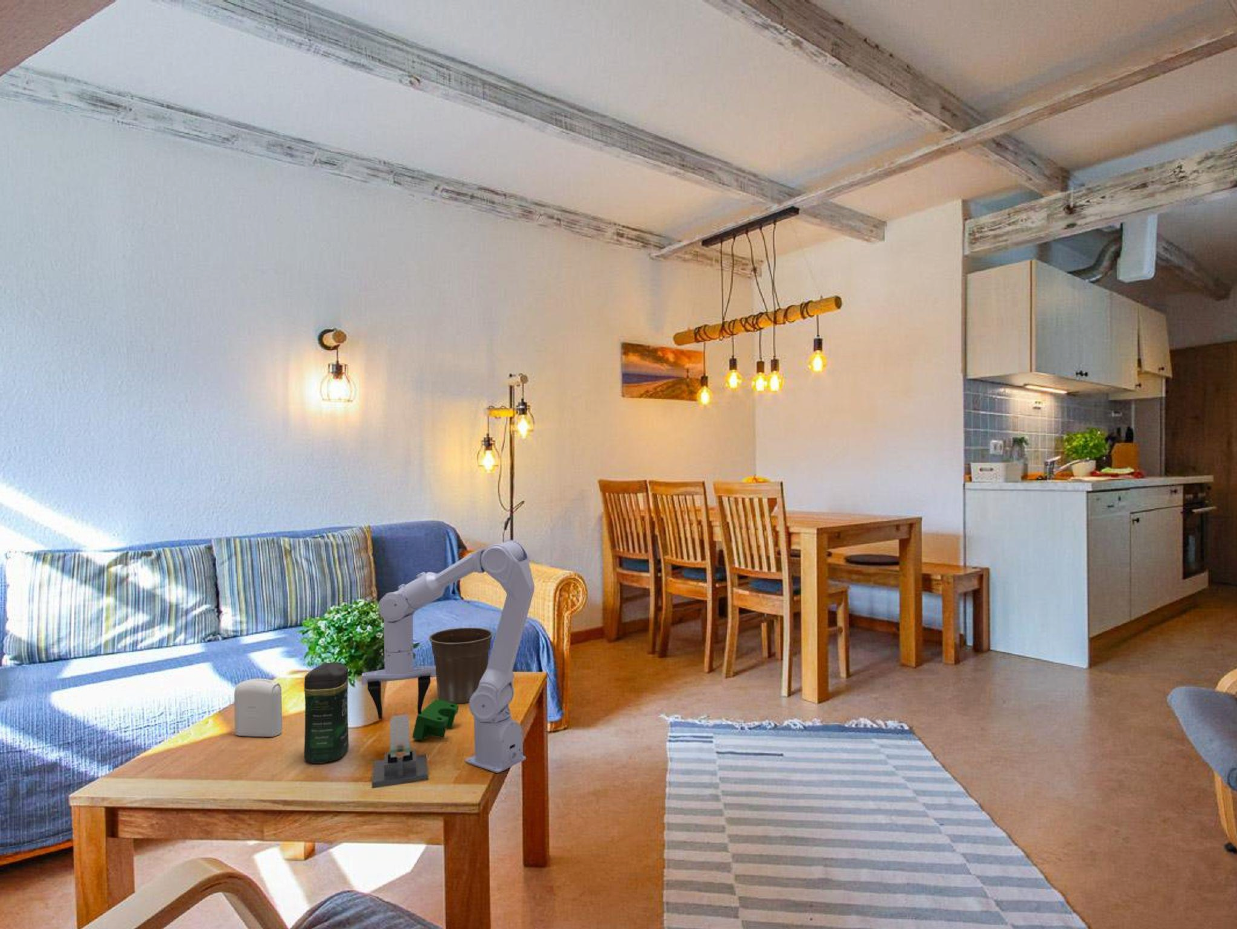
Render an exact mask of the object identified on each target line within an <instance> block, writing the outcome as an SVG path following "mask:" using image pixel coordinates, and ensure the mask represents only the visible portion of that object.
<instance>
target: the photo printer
mask: <svg viewBox="0 0 1237 929" xmlns="http://www.w3.org/2000/svg"><path fill="white" fill-rule="evenodd" d="M233 695H234V696H233V697H234V698H233V699H234V702H233V703H234V731H235V735H236V736H237V735H238V736H239V737H241V736H242V737H261V738H262V737H267V738H268V737H270V738H271V737H273V738H274V737H278V736H279V735H281V733H282V731H283V705H282V704H283V702H282V701H283V700H282V698H283V697H282V685H281V684H280V683H279V682H277V681H274V680H272V679H267V678H249V679H246V680H243V681H241V682H239V683H237V684H236V686H235V689H234V694H233Z"/></svg>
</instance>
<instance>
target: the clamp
mask: <svg viewBox="0 0 1237 929" xmlns="http://www.w3.org/2000/svg"><path fill="white" fill-rule="evenodd" d="M459 709H460V707H459V705H458V704H454V703H450V702H447V701H443V700H441V699H439V698H435V699H434V700H433V701H432V702H431V703H429V704H428V705H427V706H426V707H425V708H424V709H422V710H421V714H418V713H417V715H416V719H415V724H414V728H413V731H412V732H413V733H412V739H414V740H418V741H421V742H423V741H424V740H425V739H426V738H427V737H428V736H429V735H430V736H433V737H437V738H440V739H444V737H445V734H446V731H447V730H452V729H453V726H454V721H455V719H456V718H455V717H456V715H457V714H458V712H459Z"/></svg>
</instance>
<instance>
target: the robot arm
mask: <svg viewBox="0 0 1237 929" xmlns="http://www.w3.org/2000/svg"><path fill="white" fill-rule="evenodd" d="M473 573H478V574H484V573H486V574H488V575H489V577H491V578H492V579H494V580H495V581H496V582H497V583H499V584H500V585H501V587H502V589H503V590H504V592H505V593H506V597H505V600H504V604H503V608H502V611H501V615H500V618H499V622H498V625H497V630H496V633H495V637H494V640H493V643H492V644H493V645H492V646H491V652H490V656H489V657H488V666H487V669H486V671H485V673H484V675H483V676H482V678H481V680H480V682H479V686H478V688H477V690H476V691H475V692H474V693H473V694H472V696H471V698H470V701H469V702H468V707H469V711H470V713H471V715H472V716H473V724H474V725H473V730H474V733H473V734H474V735H473V736H474V755H473V756H470V757H468V758H465V763H466V764H470V765H473V766H476V767H478V768H481V769H485V770H488V771H490V772H493V773H496V774H500V773H502V772H503V771H506V770H507V769H509V768H511V767H514V766H515V765H517V764H519V763H521V762H523V761H525V760H526V758H527V757H526V756H525V755H524V747H523V746H524V744H523V743H524V742H523V739H524V738H523V733H524V732H523V727H522V726H521V724H520V723H519V722H518V721H516V720H515V719H514V718H513V717H512V715H511V709H510V705H509V704H510V703H512V701H513V698H514V695H515V691H514V684H513V683H514V678H515V674H514V672H513V670H514V666H515V662H516V658H517V654H518V651H519V648H520V643H521V640H522V638H523V632H524V629H525V625H526V622H527V620H528V614H529V610H530V607H531V604H532V600H533V597H534V592H535V582H534V578H533V574H532V569H531V565H530V554H529V553H528V551H527V550H526V549H525V548H524V546H523V545H522V544H521V543H520V542H519V541H517V540H513V539H507V540H504V541H502V542H500V543H495V544H491V545H490V544H489V546H487V547H486V548H483V549H478V550H476V551H474V552H471V553H469V554H468V555H466V556H465V557H463V558H461V559H460V560H458V561H457V562H455V563H453V564H451V565H450V566H448V567H446V568H445V569H443V570H442V571H440V572H438V573H435V572H432V571H428V572H425V571H423V572H421V573H418V574H417V575H416V578H415V579H414V580H411V581H410V582H409V583H407V584H405V583H403V584H400V585H399V586H398V588H397V590H396V591H393V592H387V593H385V595H384V596H383V597H381V599H380V600H379V602H378V606H377V608H378V610H377V611H378V613H379V615H380V617H381V618H382V619H383V639H384V640H383V643H384V644H383V646H384V647H383V648H384V649H383V650H384V651H383V652H384V669H379V670H374V671H367V672H362V674H361V685H362V686H365V685H367V691H368V693H369V694H370V696H371V698H372V701H373V703H374V705H375V708H376V711H377V717H378V718H377V719H378V720H382V719H383V706H382V683H384V682H394V681H405V680H413V679H417V706H416V708H417V715H418V714H421V712H422V711H423V704H424V700H425V697H426V694H427V691H428V689H429V687H430V685H431V682H432V681H431V679H432V678H433V679H434V678H436V667H435V665H427V666H426V665H424V666H423V665H422V666H421V665H418V666H416V665H415V664H414V622H413V621H414V614H415V613H416V612H417V611H418V610H420V609H423V607H426V606H428V605H429V604H431V603H432V602H435V601H436V600H438V599H440V598H441V597H443V595H444V593H445V590H446V587H448V586H450V585H452V584H453V583H456V582H458V581H460V580H461V579H464V578H466V577H467V576H469V575H472V574H473Z"/></svg>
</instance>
